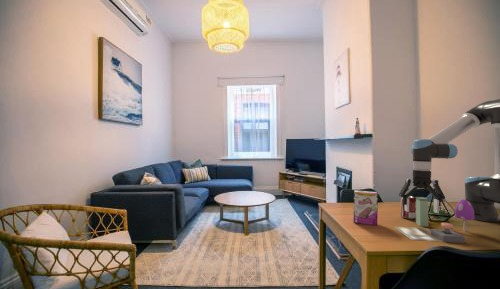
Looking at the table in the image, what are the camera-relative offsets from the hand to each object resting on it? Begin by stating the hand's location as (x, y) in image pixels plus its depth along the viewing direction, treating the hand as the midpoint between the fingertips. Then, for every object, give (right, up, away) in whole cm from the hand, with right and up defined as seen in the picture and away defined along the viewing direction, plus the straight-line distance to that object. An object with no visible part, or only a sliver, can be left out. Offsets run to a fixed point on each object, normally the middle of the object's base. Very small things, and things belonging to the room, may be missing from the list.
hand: (421, 211), depth 116 cm
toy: (+14, -7, -8) cm, 18 cm away
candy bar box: (-26, -7, +4) cm, 28 cm away
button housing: (-2, -7, -17) cm, 18 cm away
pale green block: (0, -7, 0) cm, 7 cm away
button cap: (-2, -5, -17) cm, 18 cm away
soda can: (+2, -7, +13) cm, 15 cm away
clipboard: (-7, -7, -12) cm, 16 cm away
